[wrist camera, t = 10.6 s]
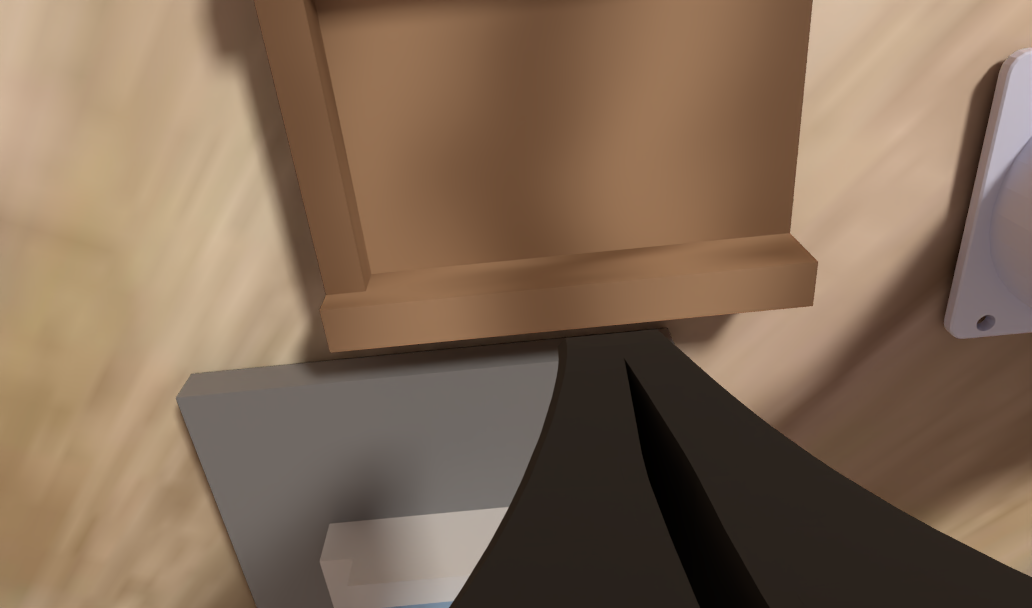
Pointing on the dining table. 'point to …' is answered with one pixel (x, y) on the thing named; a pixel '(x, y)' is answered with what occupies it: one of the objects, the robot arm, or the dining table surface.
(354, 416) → the port panel
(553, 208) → the wooden serving tray
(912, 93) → the dining table surface
